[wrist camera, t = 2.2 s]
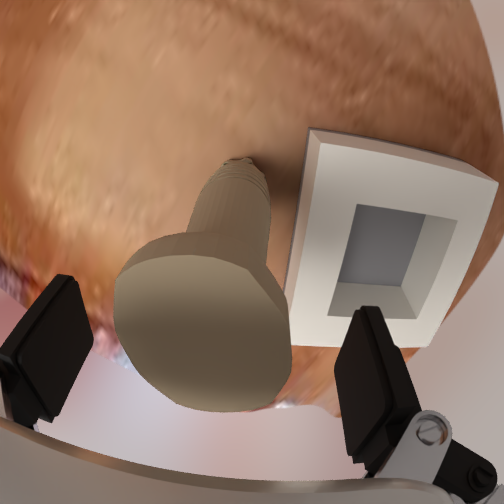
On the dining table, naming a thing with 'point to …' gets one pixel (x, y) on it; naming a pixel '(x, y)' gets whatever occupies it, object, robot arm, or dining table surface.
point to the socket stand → (380, 237)
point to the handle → (210, 302)
